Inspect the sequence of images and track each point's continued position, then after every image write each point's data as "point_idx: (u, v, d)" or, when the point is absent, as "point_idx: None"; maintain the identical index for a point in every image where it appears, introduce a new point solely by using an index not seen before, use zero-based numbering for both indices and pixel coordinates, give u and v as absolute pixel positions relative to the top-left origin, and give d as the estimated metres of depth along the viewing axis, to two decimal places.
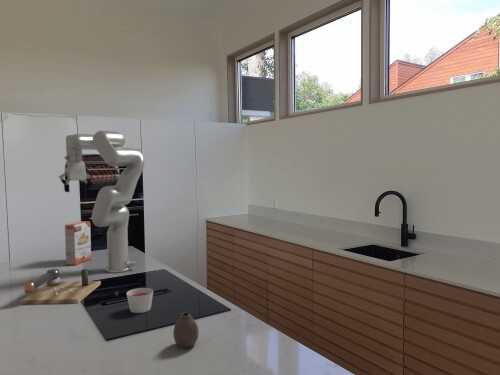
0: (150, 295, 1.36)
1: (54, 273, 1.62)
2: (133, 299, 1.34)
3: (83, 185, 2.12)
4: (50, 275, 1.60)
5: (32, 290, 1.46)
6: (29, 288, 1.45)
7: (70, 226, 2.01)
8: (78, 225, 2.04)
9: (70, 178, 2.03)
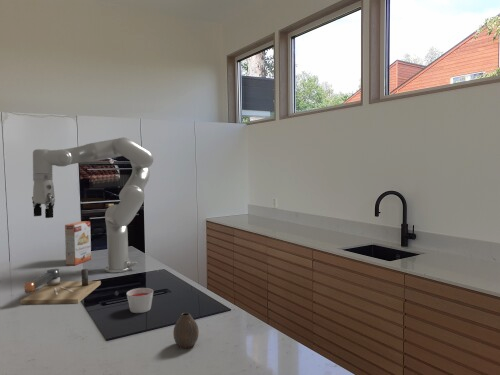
0: (150, 295, 1.36)
1: (54, 273, 1.62)
2: (133, 299, 1.34)
3: (38, 209, 1.76)
4: (50, 275, 1.60)
5: (32, 290, 1.46)
6: (29, 288, 1.45)
7: (70, 226, 2.01)
8: (78, 225, 2.04)
9: None
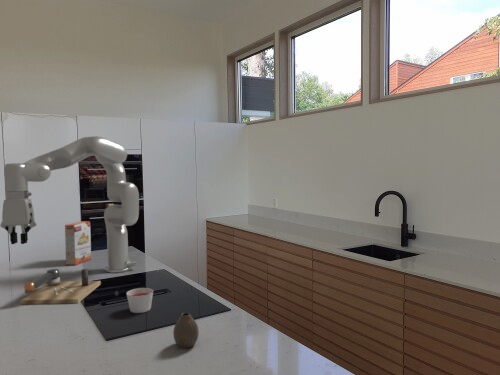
0: (150, 295, 1.36)
1: (54, 273, 1.62)
2: (133, 299, 1.34)
3: (15, 235, 1.52)
4: (50, 275, 1.60)
5: (32, 290, 1.46)
6: (29, 288, 1.45)
7: (70, 226, 2.01)
8: (78, 225, 2.04)
9: None
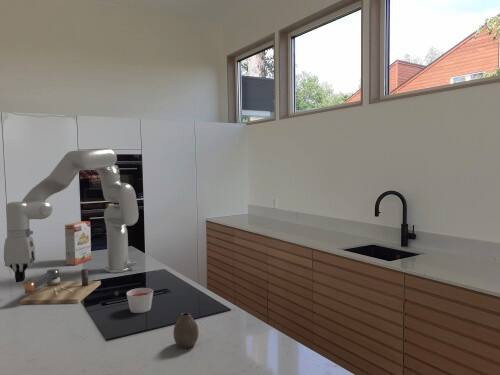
0: (150, 295, 1.36)
1: (54, 273, 1.62)
2: (133, 299, 1.34)
3: None
4: (50, 275, 1.60)
5: (32, 290, 1.46)
6: (29, 288, 1.45)
7: (70, 226, 2.01)
8: (78, 225, 2.04)
9: None
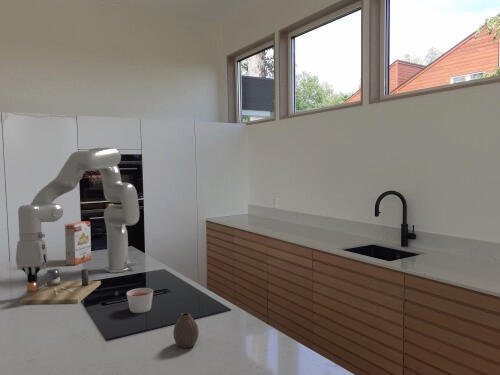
0: (150, 295, 1.36)
1: (54, 273, 1.62)
2: (133, 299, 1.34)
3: None
4: (51, 275, 1.60)
5: (34, 290, 1.46)
6: (32, 288, 1.45)
7: (70, 226, 2.01)
8: (78, 225, 2.04)
9: None
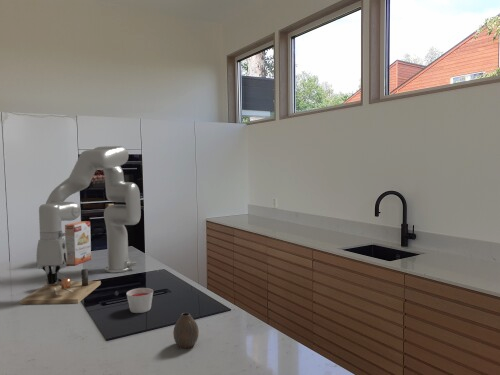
0: (150, 295, 1.36)
1: None
2: (133, 299, 1.34)
3: None
4: None
5: (70, 285, 1.51)
6: (69, 284, 1.50)
7: (70, 226, 2.01)
8: (78, 225, 2.04)
9: None
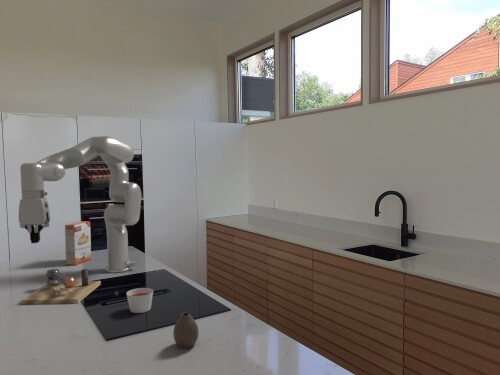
0: (150, 295, 1.36)
1: None
2: (133, 299, 1.34)
3: None
4: None
5: None
6: (73, 283, 1.51)
7: (70, 226, 2.01)
8: (78, 225, 2.04)
9: None
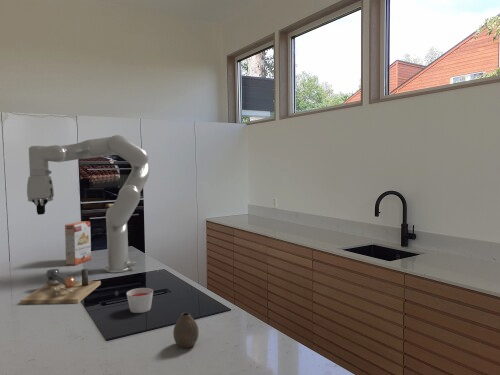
0: (150, 295, 1.36)
1: None
2: (133, 299, 1.34)
3: None
4: None
5: None
6: (73, 283, 1.51)
7: (70, 226, 2.01)
8: (78, 225, 2.04)
9: None
